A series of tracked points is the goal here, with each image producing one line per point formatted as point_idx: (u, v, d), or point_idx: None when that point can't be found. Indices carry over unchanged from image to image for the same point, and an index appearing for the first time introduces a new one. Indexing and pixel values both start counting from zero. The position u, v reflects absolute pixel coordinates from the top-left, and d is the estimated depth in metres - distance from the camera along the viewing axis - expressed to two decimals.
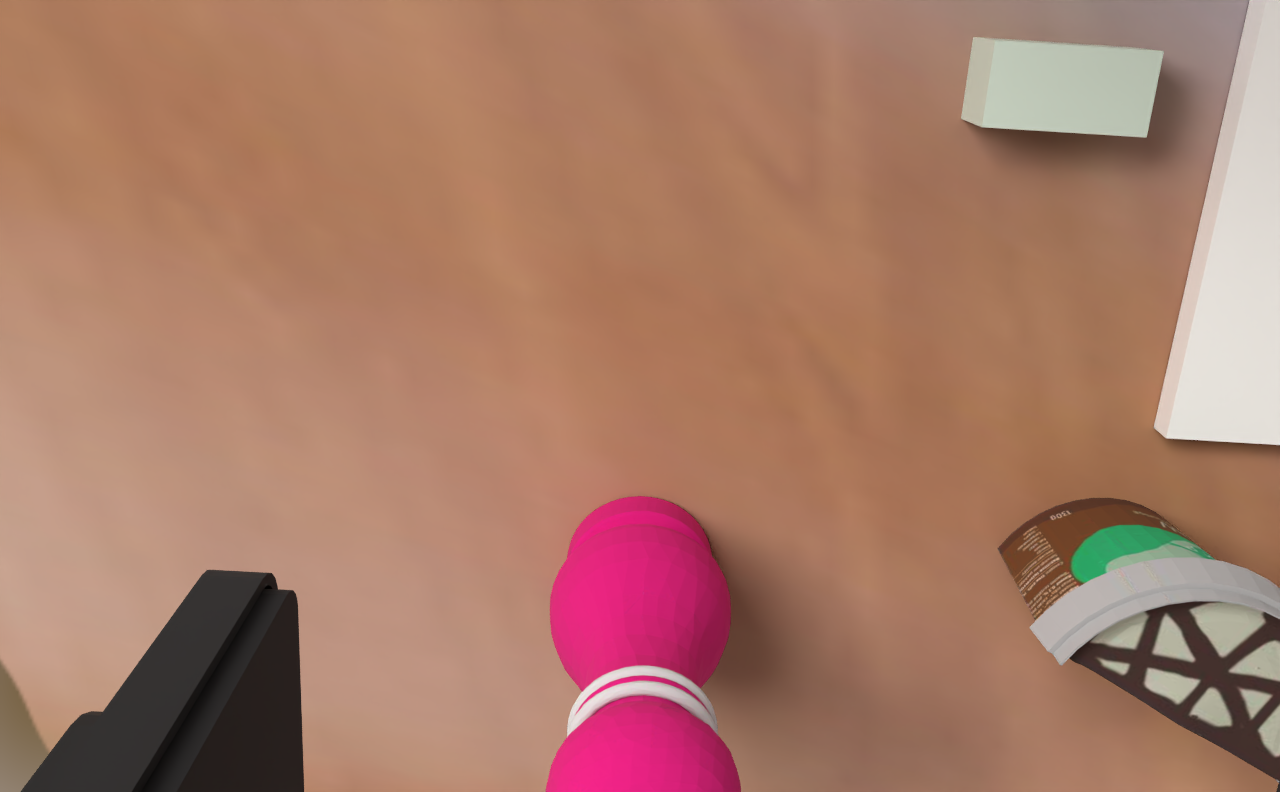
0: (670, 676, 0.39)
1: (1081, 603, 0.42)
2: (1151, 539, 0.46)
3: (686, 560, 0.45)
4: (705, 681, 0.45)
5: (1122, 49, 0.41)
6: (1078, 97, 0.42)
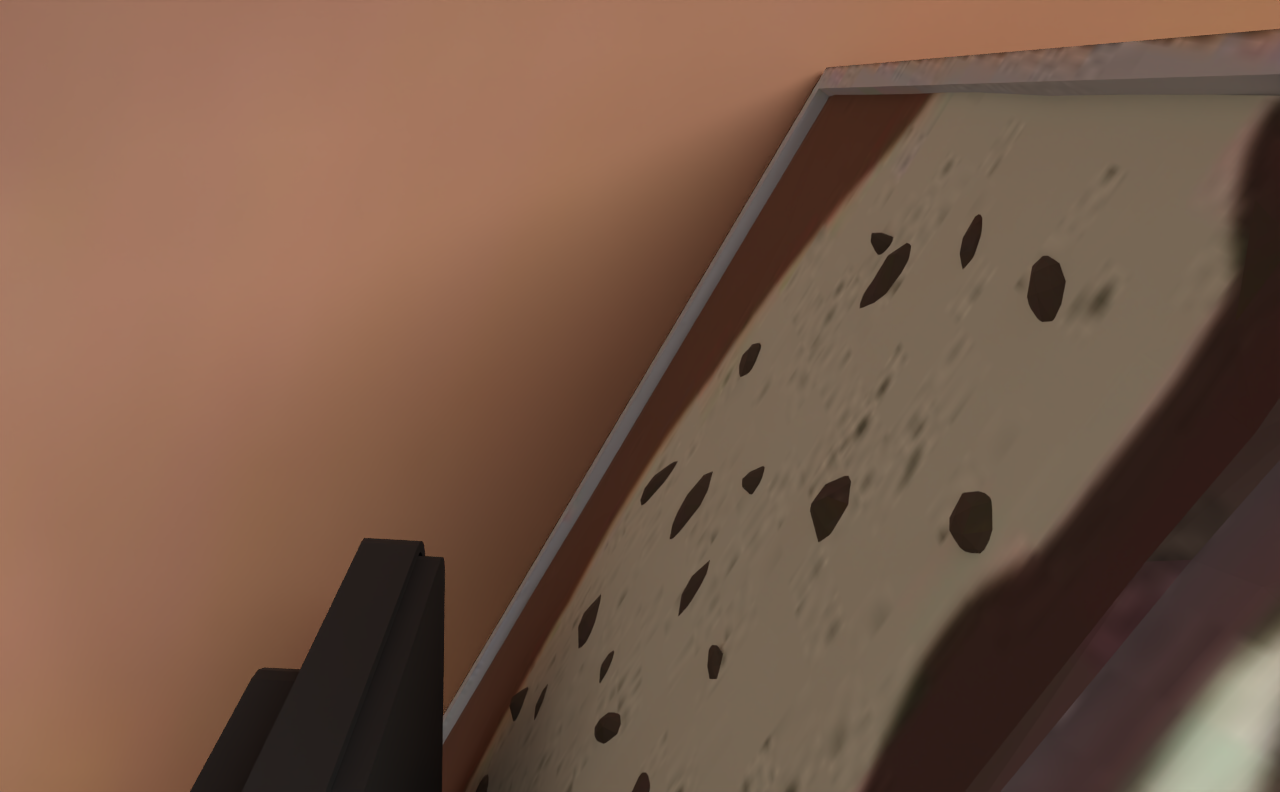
0: None
1: None
2: None
3: None
4: None
5: None
6: None
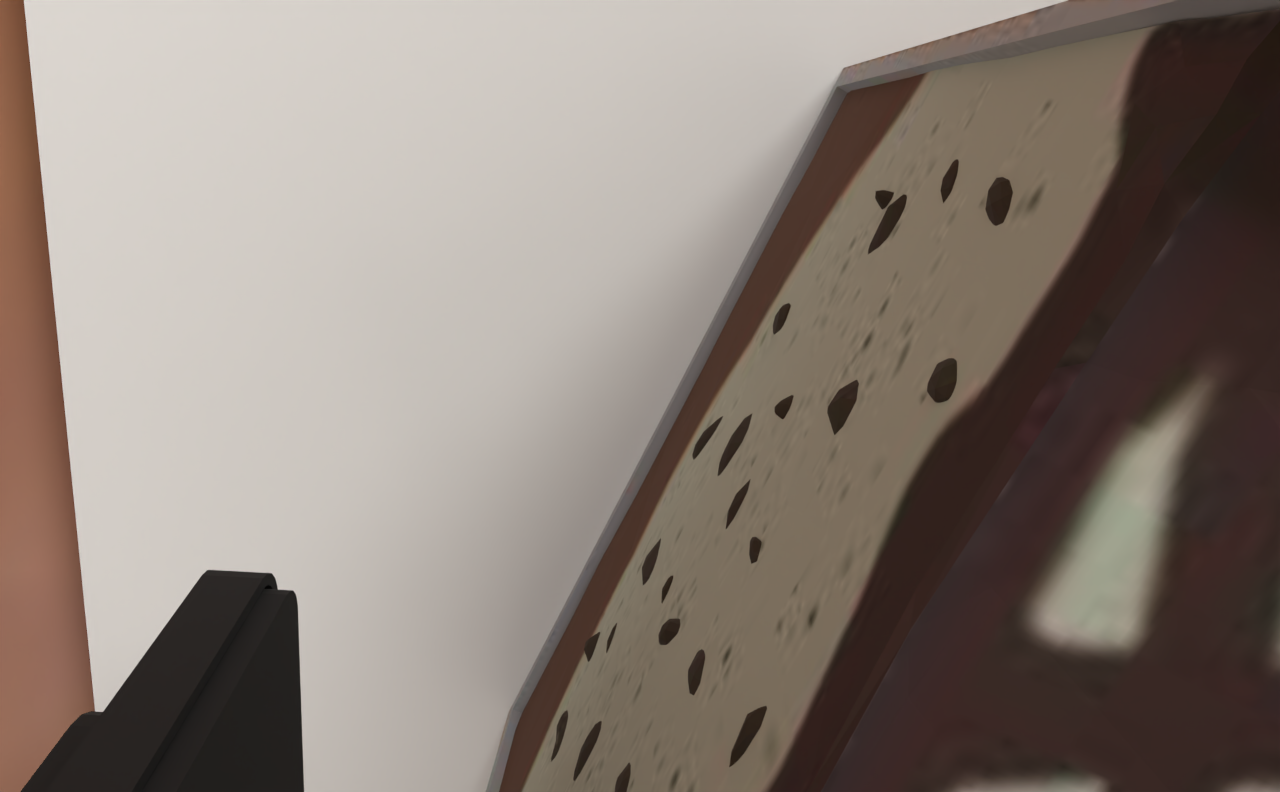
0: None
1: None
2: None
3: None
4: None
5: None
6: None
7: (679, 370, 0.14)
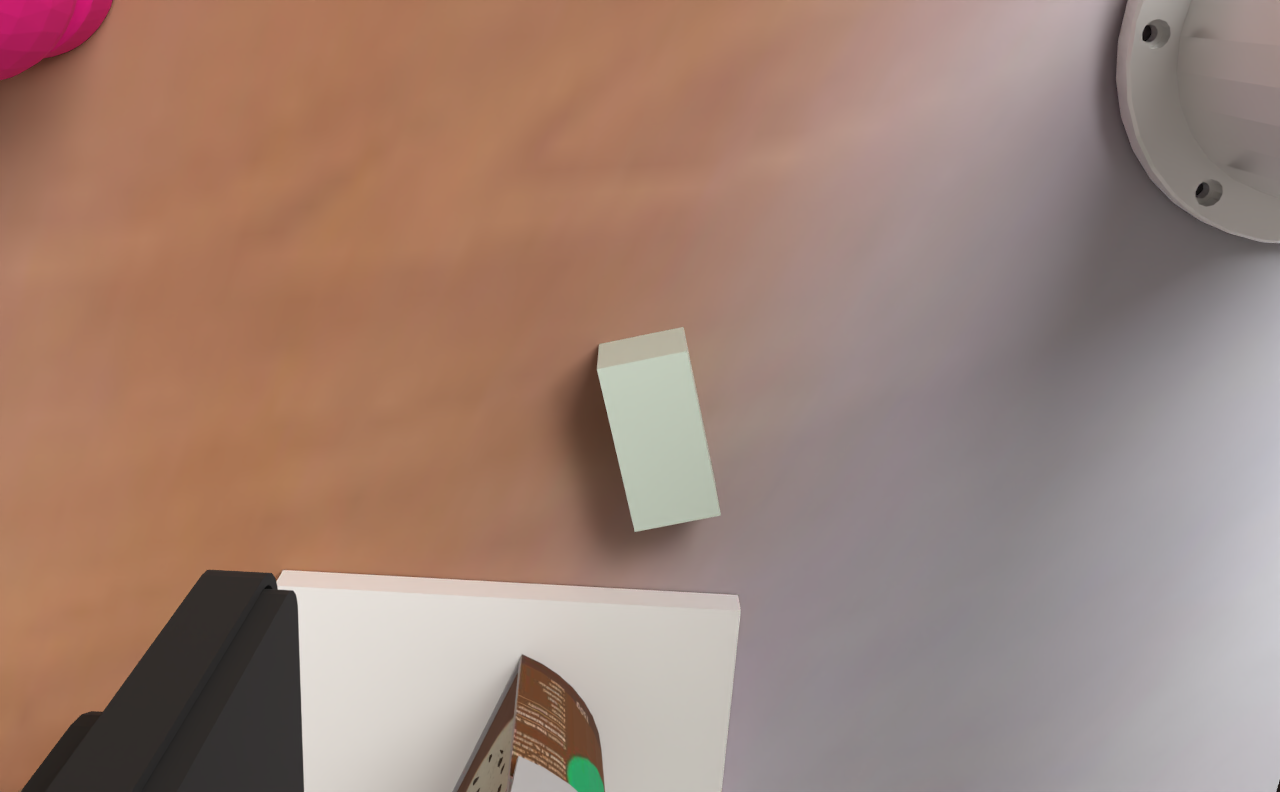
0: None
1: None
2: None
3: (35, 18, 0.32)
4: None
5: (711, 476, 0.40)
6: (654, 452, 0.39)
7: (477, 735, 0.45)
